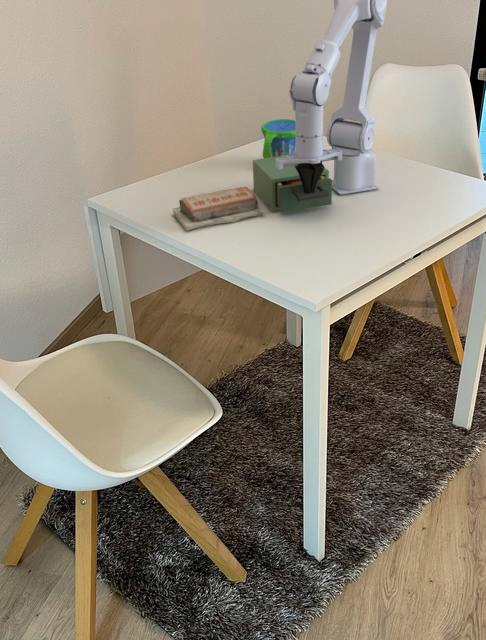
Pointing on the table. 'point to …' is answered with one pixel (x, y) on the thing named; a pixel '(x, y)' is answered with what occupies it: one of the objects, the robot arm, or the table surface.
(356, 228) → the table surface
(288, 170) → the small green cabinet
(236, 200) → the packaged product
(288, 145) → the snack cup
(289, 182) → the cube
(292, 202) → the drawer
